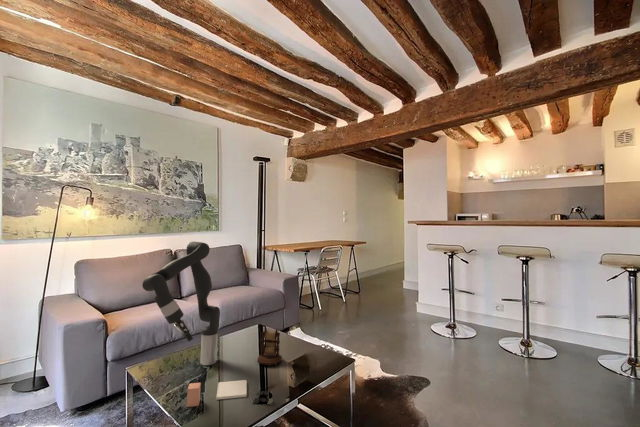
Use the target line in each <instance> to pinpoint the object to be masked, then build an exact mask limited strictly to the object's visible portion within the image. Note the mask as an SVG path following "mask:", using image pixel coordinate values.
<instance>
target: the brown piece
mask: <svg viewBox="0 0 640 427" xmlns="http://www.w3.org/2000/svg"><path fill="white" fill-rule="evenodd" d="M280 336H281V333H280V332H278V329H277V328H276V329H275V331H268V329H267V328H265V329H264V331H262V332H261V339H260V340H261V341H260V342H261V348H260V350H261V352H260V355H258V356H257V362H258V365H259V364H261V365H263V366H275V365H274V364H276V363H278V362H280V361H281V359H282V360H283V356H282V355H281V354H280V353H279V352H280V342H281V340H280ZM281 362H282V361H281ZM281 362H280V363H281ZM278 364H279V363H278ZM276 365H277V364H276Z"/></svg>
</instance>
